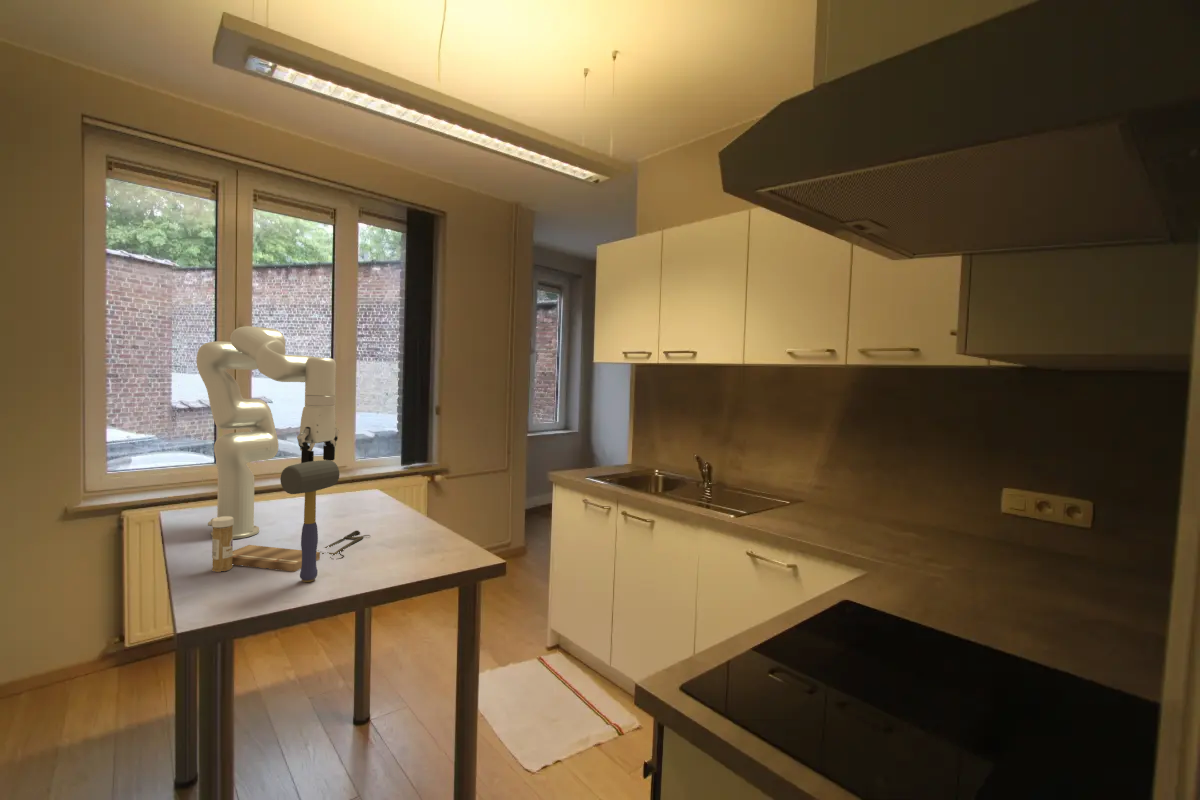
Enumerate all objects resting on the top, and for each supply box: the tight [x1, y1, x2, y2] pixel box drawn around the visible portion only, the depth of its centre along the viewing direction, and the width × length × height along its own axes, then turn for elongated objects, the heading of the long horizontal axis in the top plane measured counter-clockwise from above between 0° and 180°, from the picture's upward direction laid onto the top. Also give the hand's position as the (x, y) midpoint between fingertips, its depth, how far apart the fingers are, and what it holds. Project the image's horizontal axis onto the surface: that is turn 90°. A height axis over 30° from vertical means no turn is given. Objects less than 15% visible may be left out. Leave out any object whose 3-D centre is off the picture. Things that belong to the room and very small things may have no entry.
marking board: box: [232, 544, 321, 572], centre depth 151 cm, size 22×10×2 cm, turn 81°
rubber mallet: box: [280, 459, 340, 583], centre depth 138 cm, size 12×8×30 cm, turn 159°
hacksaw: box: [321, 530, 371, 560], centre depth 167 cm, size 24×10×2 cm, turn 171°
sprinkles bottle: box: [211, 516, 234, 573], centre depth 143 cm, size 5×5×13 cm
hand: (318, 462), depth 156 cm, fingers open, 9 cm apart
